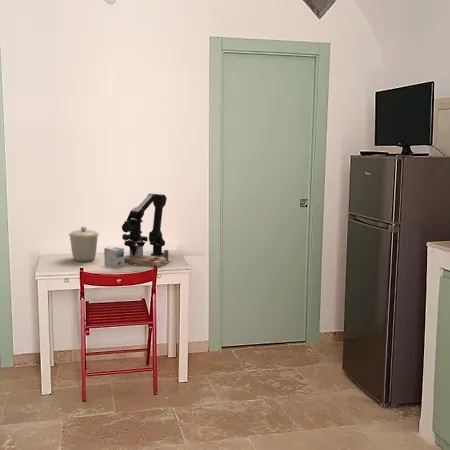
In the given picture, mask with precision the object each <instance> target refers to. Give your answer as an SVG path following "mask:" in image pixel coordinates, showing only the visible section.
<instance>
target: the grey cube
mask: <svg viewBox="0 0 450 450" xmlns="http://www.w3.org/2000/svg"><path fill="white" fill-rule="evenodd" d="M129 255H130V257H136V258H139V257H141V256H144V246H137V249H136V253H135V256H133V255H132V252H131V249H130V248H129Z"/></svg>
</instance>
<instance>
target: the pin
mask: <svg viewBox="0 0 450 450" xmlns="http://www.w3.org/2000/svg"><path fill="white" fill-rule="evenodd" d="M163 253H164V254H163V258H167V261H168V262H169V250H168V249H164V250H163Z"/></svg>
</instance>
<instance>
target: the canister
mask: <svg viewBox="0 0 450 450" xmlns="http://www.w3.org/2000/svg"><path fill="white" fill-rule="evenodd" d="M99 235H100V234H99V233H98V232H97V231H95V230H92V229H87V227H86V226H81V227H80V229H77V230H73V231H71V232H70V233H68V236H69V240H70V247H71V253H72V258H73V260H74V261H76V262H83V263H84V262H91V261H93V260H94V259H96V255H97V248H98V247H97V246H98V236H99Z"/></svg>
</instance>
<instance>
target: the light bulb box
mask: <svg viewBox="0 0 450 450" xmlns="http://www.w3.org/2000/svg"><path fill="white" fill-rule="evenodd" d="M103 249H104V252H103V253H104V255H103V256H104V265H105V266H108V267H113V268H120V267H124V266H125V263H124V257H125V248H122V247H118V246H113V245H110V246H108V247H107V246H106V247H103Z"/></svg>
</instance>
